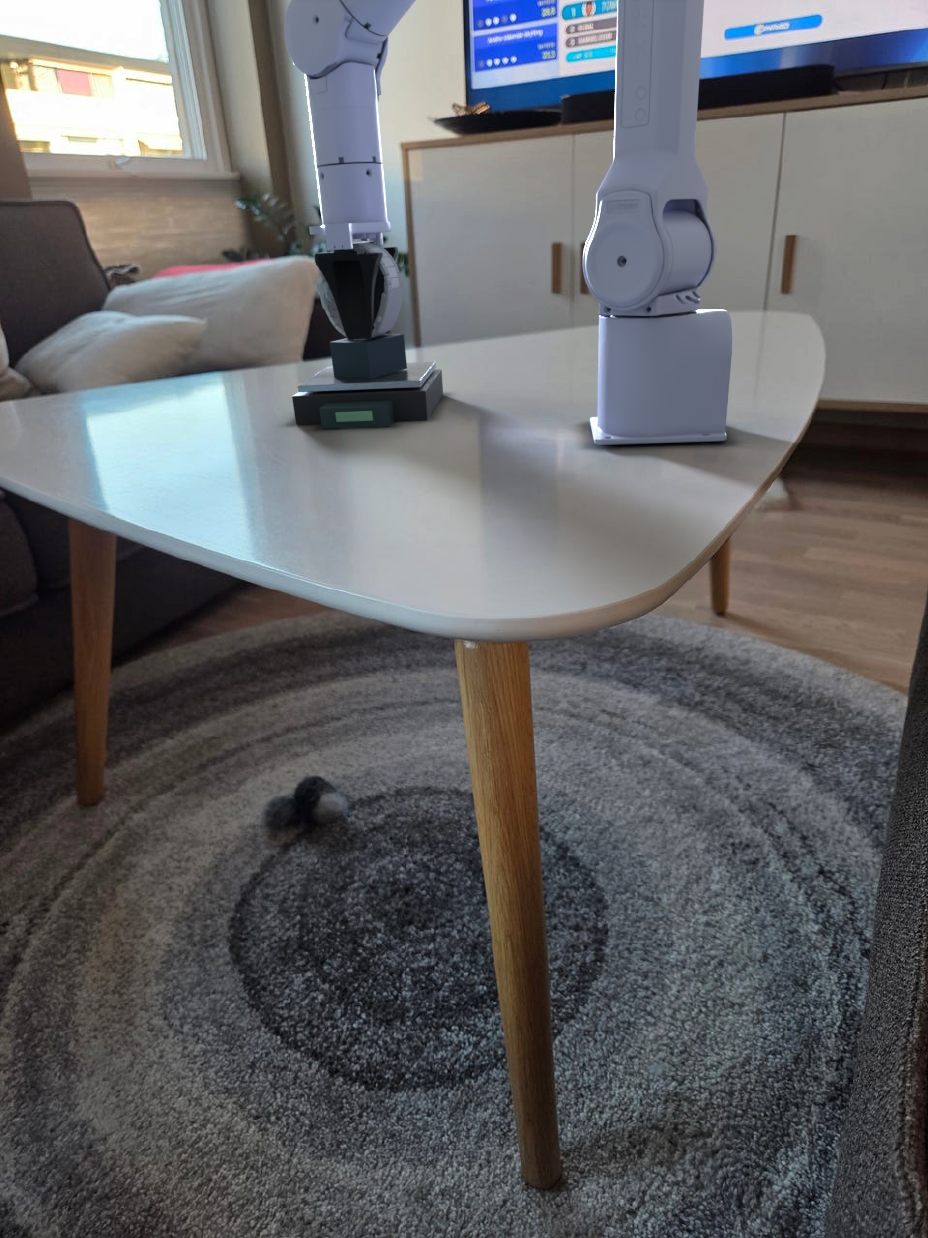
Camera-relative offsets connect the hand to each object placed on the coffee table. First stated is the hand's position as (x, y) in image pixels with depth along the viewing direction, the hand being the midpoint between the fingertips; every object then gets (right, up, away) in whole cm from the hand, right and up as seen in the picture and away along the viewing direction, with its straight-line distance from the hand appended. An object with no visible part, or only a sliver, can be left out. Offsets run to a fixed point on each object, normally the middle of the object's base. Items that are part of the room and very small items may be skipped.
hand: (366, 334), depth 75 cm
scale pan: (0, -4, +2) cm, 4 cm away
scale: (0, -7, +2) cm, 7 cm away
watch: (0, -3, +1) cm, 4 cm away
